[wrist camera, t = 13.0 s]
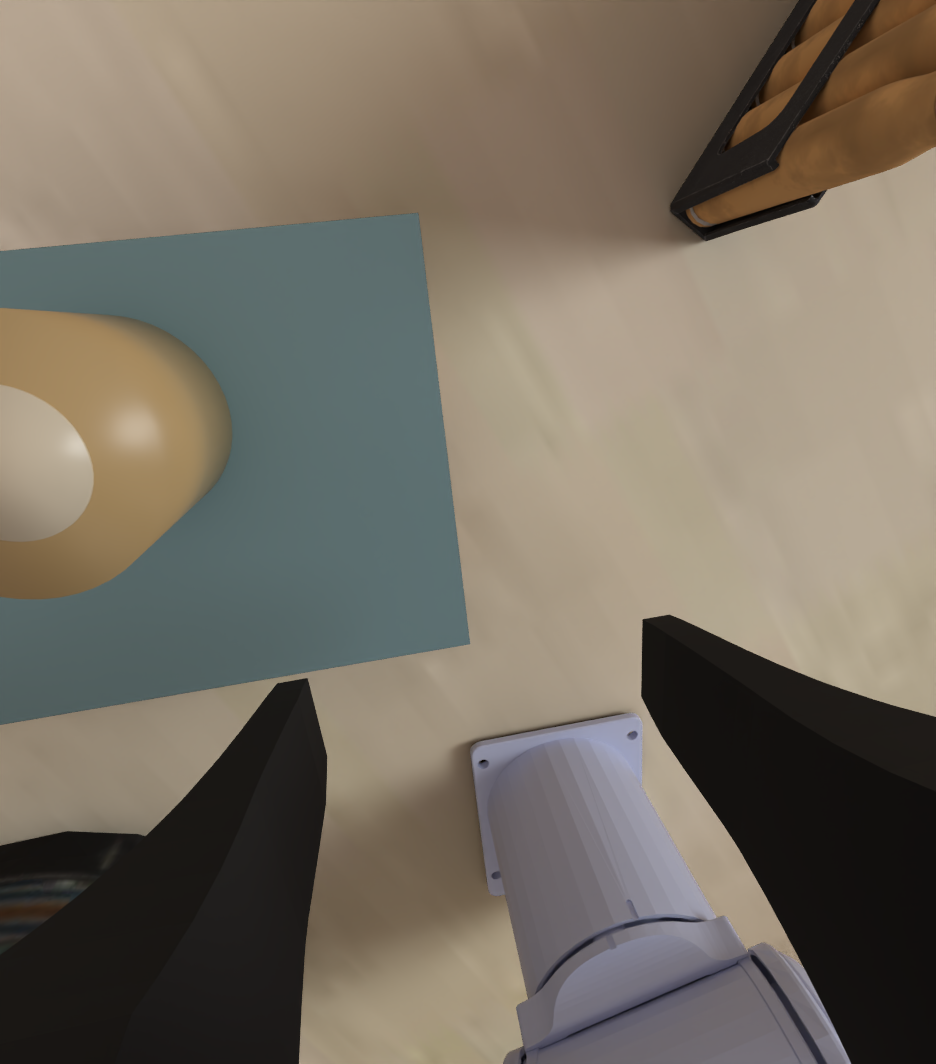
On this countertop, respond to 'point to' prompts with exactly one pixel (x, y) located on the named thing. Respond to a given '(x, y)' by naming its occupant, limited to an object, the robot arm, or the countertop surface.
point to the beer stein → (51, 876)
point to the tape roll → (98, 445)
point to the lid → (262, 469)
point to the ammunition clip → (819, 113)
